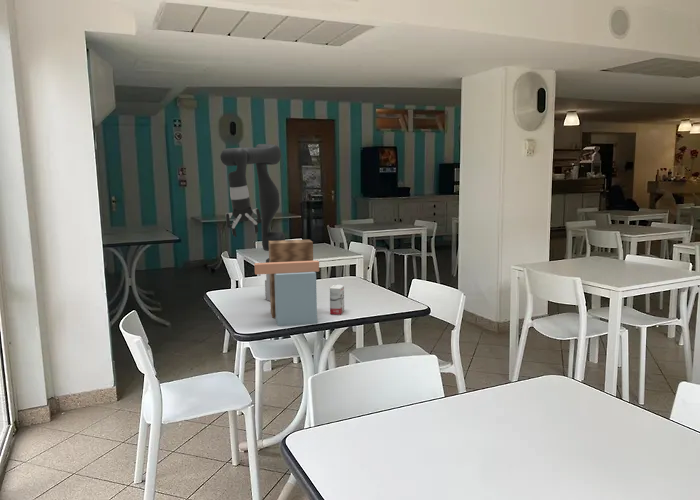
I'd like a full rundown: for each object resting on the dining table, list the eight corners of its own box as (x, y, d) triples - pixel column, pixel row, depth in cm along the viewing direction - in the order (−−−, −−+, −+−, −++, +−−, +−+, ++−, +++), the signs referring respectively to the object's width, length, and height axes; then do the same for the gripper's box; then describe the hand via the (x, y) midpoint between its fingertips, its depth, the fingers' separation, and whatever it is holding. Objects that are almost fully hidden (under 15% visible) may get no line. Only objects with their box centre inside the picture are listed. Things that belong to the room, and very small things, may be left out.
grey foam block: (277, 326, 222) (276, 274, 219) (275, 319, 232) (274, 270, 229) (317, 323, 225) (316, 272, 223) (313, 317, 235) (312, 268, 232)
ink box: (340, 315, 238) (340, 288, 237) (329, 314, 239) (329, 288, 238) (344, 310, 247) (344, 284, 245) (334, 309, 248) (333, 284, 246)
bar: (255, 274, 220) (254, 264, 220) (254, 272, 224) (254, 263, 224) (319, 271, 226) (319, 261, 225) (317, 269, 230) (317, 260, 229)
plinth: (272, 318, 234) (270, 243, 230) (270, 312, 244) (268, 240, 240) (314, 315, 238) (312, 242, 234) (310, 309, 248) (309, 239, 244)
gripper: (223, 200, 221) (229, 239, 225) (258, 195, 225) (264, 234, 229) (221, 198, 228) (227, 235, 232) (255, 193, 231) (261, 230, 236)
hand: (245, 234), depth 230 cm, fingers open, 8 cm apart
